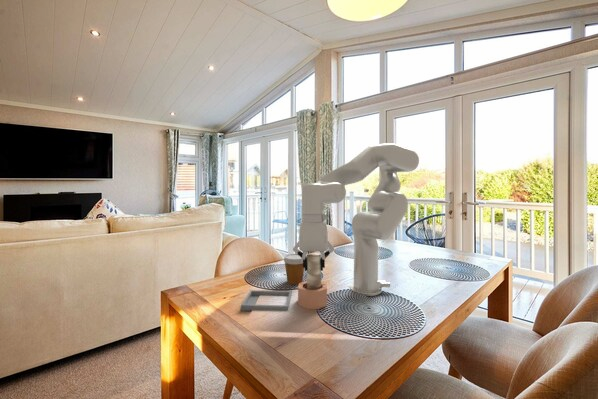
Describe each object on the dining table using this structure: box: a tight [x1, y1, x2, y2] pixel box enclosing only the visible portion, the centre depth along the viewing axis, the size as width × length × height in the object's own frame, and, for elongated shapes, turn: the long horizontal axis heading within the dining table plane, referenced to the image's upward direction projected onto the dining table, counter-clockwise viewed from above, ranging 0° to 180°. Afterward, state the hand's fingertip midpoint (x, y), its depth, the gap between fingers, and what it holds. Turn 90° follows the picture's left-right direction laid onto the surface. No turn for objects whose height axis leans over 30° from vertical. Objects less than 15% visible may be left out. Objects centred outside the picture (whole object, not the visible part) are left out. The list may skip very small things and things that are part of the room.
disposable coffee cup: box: [283, 253, 305, 286], centre depth 121 cm, size 10×10×12 cm
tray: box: [240, 289, 293, 313], centre depth 102 cm, size 16×13×2 cm
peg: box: [306, 252, 322, 290], centre depth 100 cm, size 5×5×12 cm
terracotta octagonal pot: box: [297, 280, 328, 310], centre depth 101 cm, size 10×10×7 cm
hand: (313, 269), depth 100 cm, fingers closed on peg, 4 cm apart
